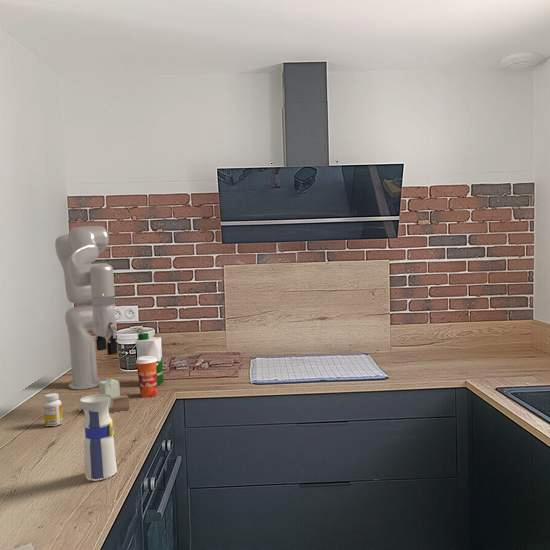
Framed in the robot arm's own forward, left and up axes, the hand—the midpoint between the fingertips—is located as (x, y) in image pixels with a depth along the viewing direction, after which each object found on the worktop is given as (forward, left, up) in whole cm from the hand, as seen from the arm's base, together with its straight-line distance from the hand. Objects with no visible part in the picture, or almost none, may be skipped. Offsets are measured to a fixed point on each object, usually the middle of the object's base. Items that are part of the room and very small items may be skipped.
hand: (107, 352), depth 209 cm
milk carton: (-22, +25, -20) cm, 39 cm away
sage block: (0, 0, -15) cm, 15 cm away
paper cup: (-7, +17, -20) cm, 27 cm away
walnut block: (0, 0, -20) cm, 20 cm away
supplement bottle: (+3, -20, -20) cm, 28 cm away
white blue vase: (+54, -23, -20) cm, 62 cm away
